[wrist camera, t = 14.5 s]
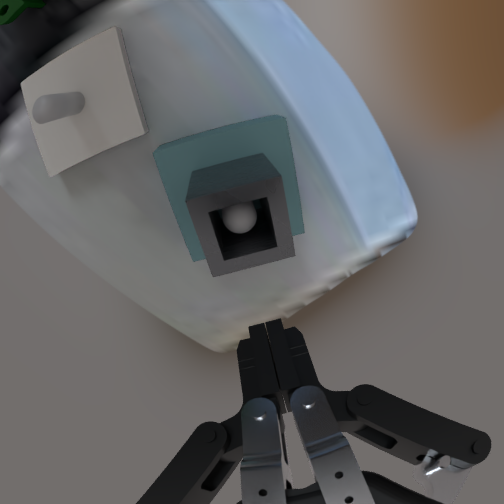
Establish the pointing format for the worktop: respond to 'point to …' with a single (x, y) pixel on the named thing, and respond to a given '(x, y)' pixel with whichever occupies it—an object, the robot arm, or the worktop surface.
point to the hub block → (222, 150)
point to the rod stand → (84, 102)
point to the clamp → (16, 9)
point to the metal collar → (232, 193)
